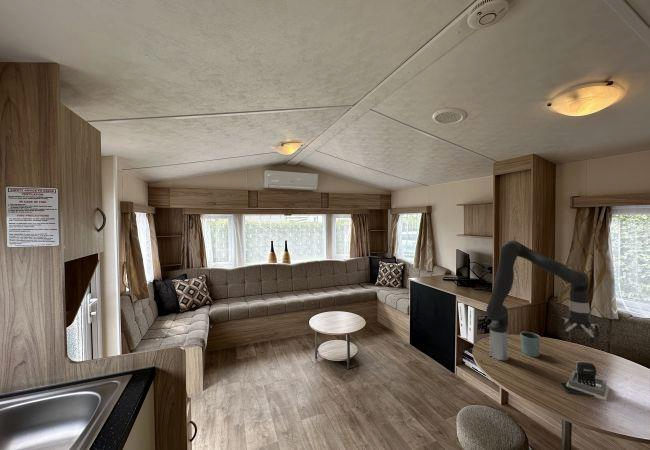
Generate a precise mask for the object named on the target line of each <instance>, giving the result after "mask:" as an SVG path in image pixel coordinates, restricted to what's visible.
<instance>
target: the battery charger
mask: <svg viewBox="0 0 650 450" xmlns="http://www.w3.org/2000/svg"><path fill="white" fill-rule="evenodd" d="M575 365H576V366H575V367H576V369H575V371H576V372H577V382H579V383H582V384H585V385H588V386H592V387H595V386H596V383H595V377H596V376H597V368H596V366H595V365H594V364H593V362H591V361H586V360H585V361H584V360H578V361H576V363H575Z"/></svg>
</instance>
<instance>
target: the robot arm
mask: <svg viewBox="0 0 650 450" xmlns="http://www.w3.org/2000/svg"><path fill="white" fill-rule="evenodd" d="M517 257H519V258H522V259H525V260H527V261H529V262H530V263H532V264H534V265H536V266H537V268H539V269H542V270H543V271H545V272H547V273H550V274H552V275H554V276H557V277H558V278H560V279H561V280H563V281H565V282H567V283H568V284H570V289H569V303H568V308H569V309H568V310H569V318H566V317H564V316H562V317H561V319H560V320H561V321H560V329H561V330H563V331H565V337H566V338H567V339H568V340H570V338H571V330H572V329H573V328H574V330H580V331H585V332H586V333H587V334H588V335H589V337H590V339H589V341H590V343H589V344H590V345H594V344H595V338H600V335H601V333H600V325H599V323H591V318H590V317H591V315H590V313H591V312H590V311H591V309H590V303H589V286H590V285H589V283H590V280H589V275H588V274H587V272H585V271H583V270H574V269H573V268H572V269H571V268H569V267H567V265H565V264H563V263H562V262H559V261H558V260H554V259H552V258H550V257H547V256H545V255H543V254H541V253H539V252H536V251H535V250H532V249H531V248H530V247H527V246H526V245H524V244H523V243H521V242H519V241H517V240H509V241H506V242H504V243H503V244H502V245H501V247H500V255H499V263H498V266H497V270H496V273H495V277H494V281H493V285H492V291H491V295H490V299H489V301H488V304H487V307H486V311H485V312H486V316H487V317H488V319H489V320H491V322H490V323H489V327H488V328H489V341H488V348H489V357H491V356H492V357H491V358H493V359H494V360H498V361H508V360H509V346H508V345H509V344H508V343H509V342H508V327H509V313H508V309H507V307H506V306H505V305H504V301H505V300H506V298H507V297H508V295H509V294H510V292H511V291H512V288H513V284H514V280H515V274H514V266H515V263H516V260H517ZM567 322H568V323H569V324H570V325H569V326H566V323H567ZM591 327H592V329H594V332H593V330H592V329H591Z"/></svg>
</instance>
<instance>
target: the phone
mask: <svg viewBox="0 0 650 450" xmlns="http://www.w3.org/2000/svg"><path fill="white" fill-rule="evenodd" d="M567 383H568V382H559V385H560V387H561V388H562V389H563V391H564V392H565V393H568V394H571V395H577V394H578V396H584V395H585V396H586V397H591V398H592V397H593V398H595V397H594V395H591V394H588V393H585V392H582V391H579V390H576V389H573V388H570V387H567V386H566V385H567Z"/></svg>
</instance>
